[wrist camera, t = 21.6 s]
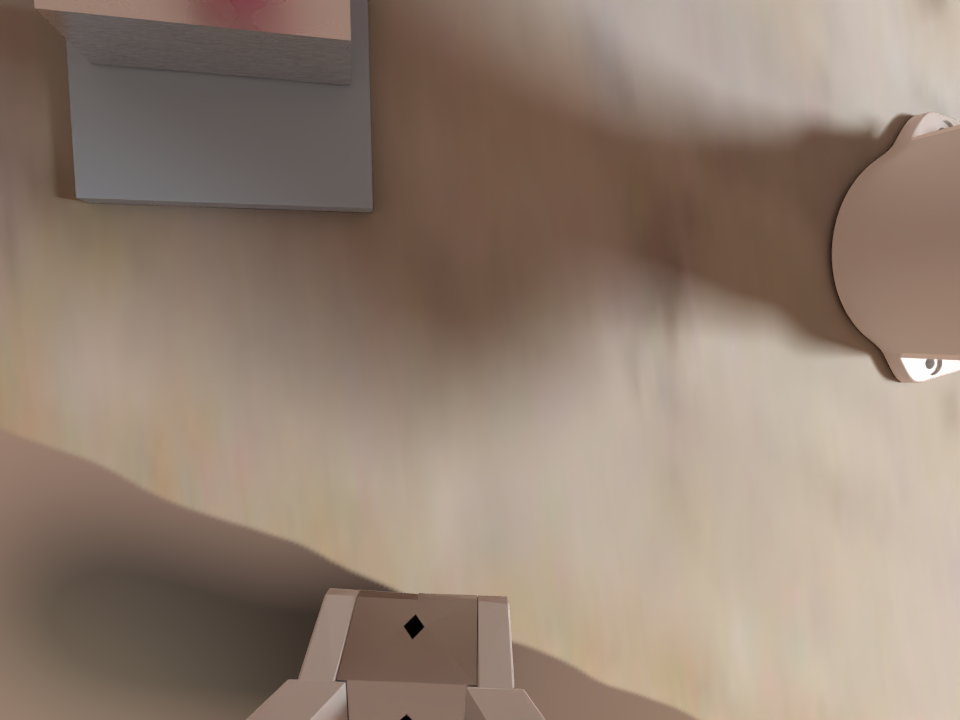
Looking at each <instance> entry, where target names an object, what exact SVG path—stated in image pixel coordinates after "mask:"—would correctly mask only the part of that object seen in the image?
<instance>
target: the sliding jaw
mask: <svg viewBox="0 0 960 720" xmlns="http://www.w3.org/2000/svg"><path fill="white" fill-rule="evenodd" d="M34 8H35V9H36V10H37V11H38V12H39V13H40V14H41V15H42V16H43V17H44V18H45V19H46V20H47V21H48V22H49V23H50V24H51V25H52V26H53V27H54V28H55V29H56V30H57V31H58V32H59V33H60V34H61V35H62V36H63V37H64V38H65V39H66V40H67V41H68V42H69V43H70V44H71V45H72V46H73V47H74V48H75V49H76V50H77V51H78V52H79V53H80V54H81V55H82V56H83V57H84V58H85V59H86V60H87V61H88V62H89V63H92V64H104V65H115V66H127V67H139V68H151V69H163V70H174V71H186V72H198V73H210V74H222V75H233V76H245V77H257V78H269V79H281V80H293V81H304V82H316V83H328V84H340V85H351V23H350V0H34Z"/></svg>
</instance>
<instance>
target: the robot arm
mask: <svg viewBox="0 0 960 720" xmlns="http://www.w3.org/2000/svg"><path fill="white" fill-rule="evenodd" d="M832 267H833V275H834V280H835V285H836V289H837V292H838V295H839V298H840V300H841V303H842V305H843V307H844V309H845V311H846V313H847V315H848V316H849V318H850V319H851V321H852V322H853V323H854V325H855V326H856V327H857V328H858V329H859V331H860V332H861V333H863V334H864V335H865V336H866V337H867V338H868V339H869V340H871V341H872V342H873V343H874V344H875V345H877V346H878V347H879V348H880V350H881V351H882V352H883V354H884V356H885V358H886V360H887V362H888V364H889V366H890V368H891V370H892V372H893V374H894V375H895V377H896V378H897V379H898V380H899V381H901V382H904V383H921V382H924V381H928V380H931V379H935V378H938V377H942V376H945V375H948V374H952V373H955V372H959V371H960V121H957V120H955V119H952V118H949V117H946V116H944V115H941V114H938V113H935V112H928V113H924V114H920V115H916V116H913V117H912V118H910V119H909V120H908V122H907V123H906V124H905V126H904V127H903V129H902V130H901V132H900V134H899V135H898V137H897V139H896V141H895V142H894V144H893V146H892V147H891V148H890V149H889V150H888V151H887V152H886V153H885V154H884V155H882V156H881V157H879V158H878V159H877V160H875V161H874V162H873V163H871V164H870V165H869V166H868V167H867V168H866V169H865V170H864V171H863V172H862V173H861V174H860V175H859V176H858V178H857V179H856V180H855V182H854V183H853V184H852V186H851V188H850V189H849V191H848V193H847V194H846V196H845V198H844V200H843V203H842V205H841V208H840V210H839V213H838V216H837V220H836V224H835V228H834V234H833V242H832ZM246 720H545V719H544V717H543V716H542V714H541V713H540V711H539V710H538V709H537V707H536V706H535V704H534V703H533V701H532V700H531V699H530V697H529V696H528V695H527V693H526V692H525V690H524V689H515V688H514V673H513V656H512V640H511V624H510V608H509V601H508V598H507V597H502V596H478V597H477V595H455V594H425V593H419V594H410V593H396V592H383V591H382V592H381V591H368V590H348V589H333V588H330V589H329V590H328V592H327V594H326V595H325V597H324V600H323V603H322V606H321V609H320V613H319V616H318V619H317V622H316V625H315V628H314V631H313V634H312V637H311V640H310V644H309V647H308V650H307V653H306V656H305V659H304V662H303V666H302V668H301V672H300V674H299V678H298V680H287V681H286V682H285V683H284V684H283V685H282V686H281V687H280V688H279V689H278V690H277V691H276V692H275V693H273V694H272V696H270V697H269V698H268V699H267V700H266V701H265V702H264V703H263V704H262V705H261V706H260V707H259V708H258V709H257V710H255V712H254V713H252V714H251V715H250V716H249V717H248V718H247V719H246Z"/></svg>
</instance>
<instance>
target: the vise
mask: <svg viewBox="0 0 960 720" xmlns="http://www.w3.org/2000/svg"><path fill="white" fill-rule="evenodd" d="M350 23H351V85H340V84H328V83H316V82H304V81H293V80H281V79H269V78H257V77H245V76H233V75H222V74H210V73H198V72H186V71H174V70H163V69H151V68H139V67H127V66H115V65H104V64H92V63H89V62H88V61H87V60H86V59H85V58H84V57H83V56H82V55H81V54H80V53H79V52H78V51H77V50H76V49H75V48H74V47H73V46H72V45H71V44H70V43H69V42H68V41H67V40H66V51H67V66H68V82H69V97H70V113H71V128H72V144H73V159H74V175H75V190H76V198H78V199H80V200H82V201H84V202H87V203H106V204H136V205H165V206H195V207H225V208H255V209H285V210H314V211H344V212H372V210H373V192H372V151H371V110H370V68H369V27H368V0H350Z"/></svg>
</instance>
